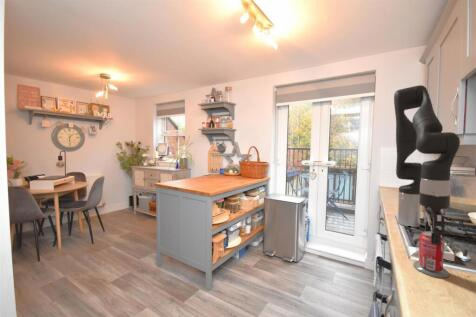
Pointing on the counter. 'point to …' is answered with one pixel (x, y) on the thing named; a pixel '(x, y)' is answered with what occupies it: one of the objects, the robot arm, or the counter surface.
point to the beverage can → (430, 253)
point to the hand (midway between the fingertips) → (432, 239)
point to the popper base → (449, 254)
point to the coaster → (438, 274)
